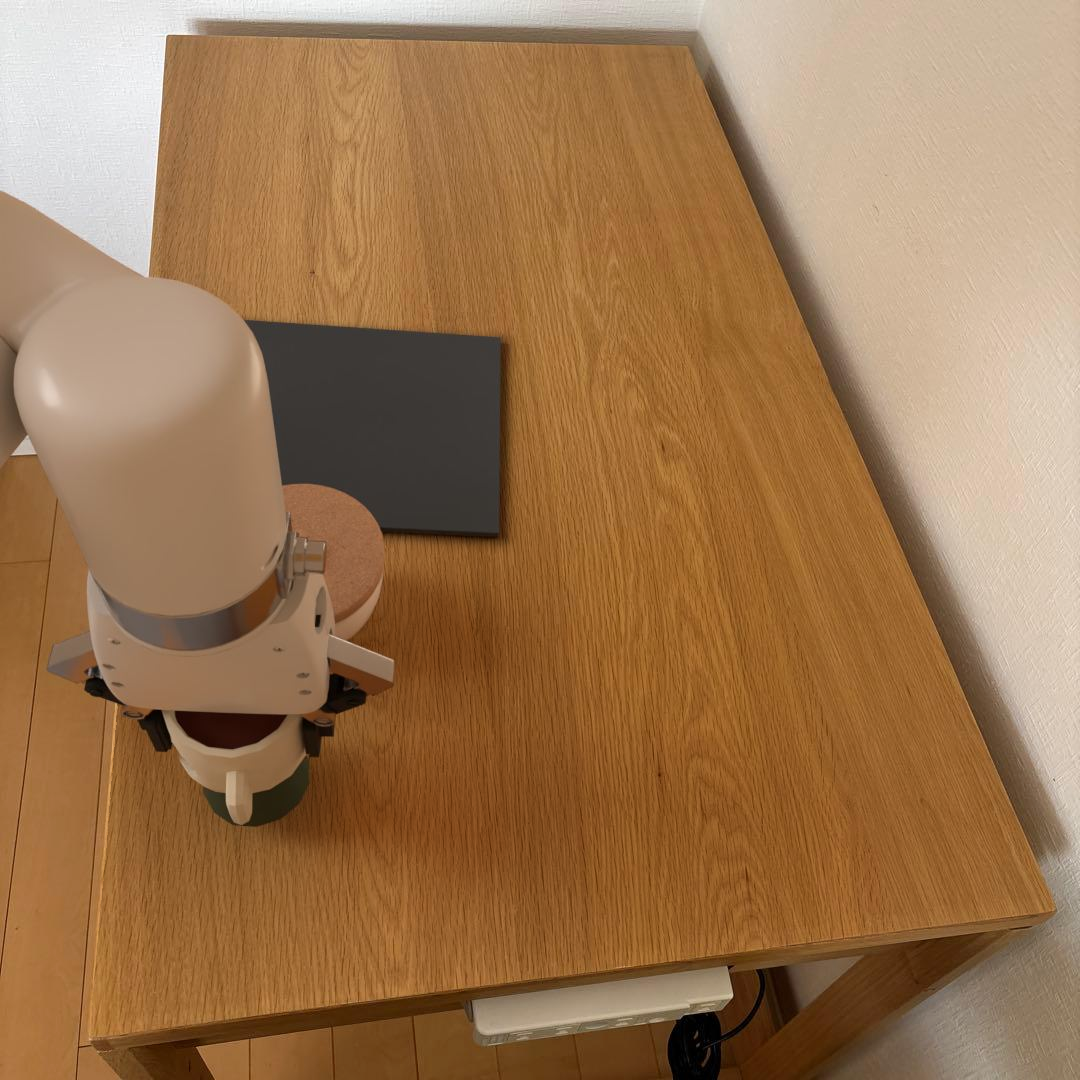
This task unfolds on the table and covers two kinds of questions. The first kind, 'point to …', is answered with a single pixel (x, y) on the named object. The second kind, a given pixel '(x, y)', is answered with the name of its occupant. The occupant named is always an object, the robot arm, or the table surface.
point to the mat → (390, 421)
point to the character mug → (243, 762)
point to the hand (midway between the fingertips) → (243, 727)
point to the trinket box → (341, 550)
